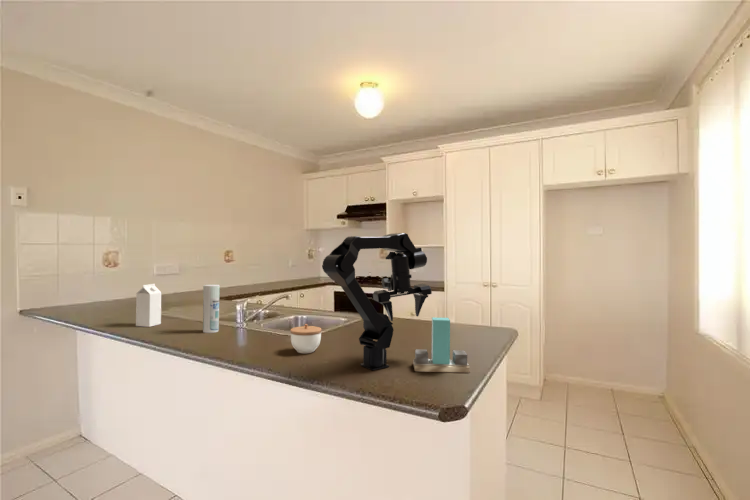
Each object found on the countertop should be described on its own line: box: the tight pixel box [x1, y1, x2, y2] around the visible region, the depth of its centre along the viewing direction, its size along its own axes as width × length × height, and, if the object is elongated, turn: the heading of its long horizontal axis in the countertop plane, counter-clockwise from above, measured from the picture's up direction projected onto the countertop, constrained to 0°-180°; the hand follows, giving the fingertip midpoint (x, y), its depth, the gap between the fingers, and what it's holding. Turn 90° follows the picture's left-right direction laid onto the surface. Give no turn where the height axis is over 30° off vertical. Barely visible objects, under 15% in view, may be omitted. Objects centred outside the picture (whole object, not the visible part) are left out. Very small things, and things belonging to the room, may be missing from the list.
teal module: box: [431, 317, 451, 364], centre depth 112 cm, size 5×4×13 cm
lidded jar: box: [290, 323, 322, 354], centre depth 130 cm, size 11×11×9 cm
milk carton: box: [135, 283, 162, 328], centre depth 171 cm, size 7×7×19 cm
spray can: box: [202, 284, 221, 334], centre depth 160 cm, size 6×6×20 cm
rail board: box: [412, 348, 471, 374], centre depth 112 cm, size 16×7×5 cm, turn 87°
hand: (404, 318), depth 122 cm, fingers open, 9 cm apart
